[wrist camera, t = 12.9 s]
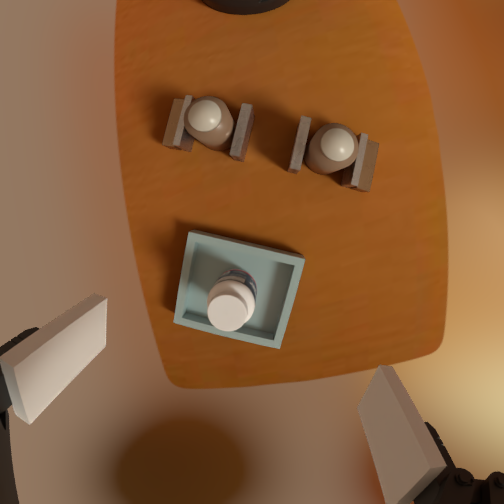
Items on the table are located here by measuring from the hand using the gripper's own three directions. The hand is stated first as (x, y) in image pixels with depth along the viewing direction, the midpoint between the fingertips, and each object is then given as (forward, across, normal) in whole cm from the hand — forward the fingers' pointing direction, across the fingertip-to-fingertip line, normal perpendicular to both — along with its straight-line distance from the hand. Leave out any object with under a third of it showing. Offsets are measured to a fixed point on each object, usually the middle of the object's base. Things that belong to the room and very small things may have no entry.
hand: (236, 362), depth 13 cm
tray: (+25, -2, -6) cm, 26 cm away
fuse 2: (+26, +5, +13) cm, 29 cm away
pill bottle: (+25, -2, -5) cm, 25 cm away
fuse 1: (+26, -8, +13) cm, 30 cm away
